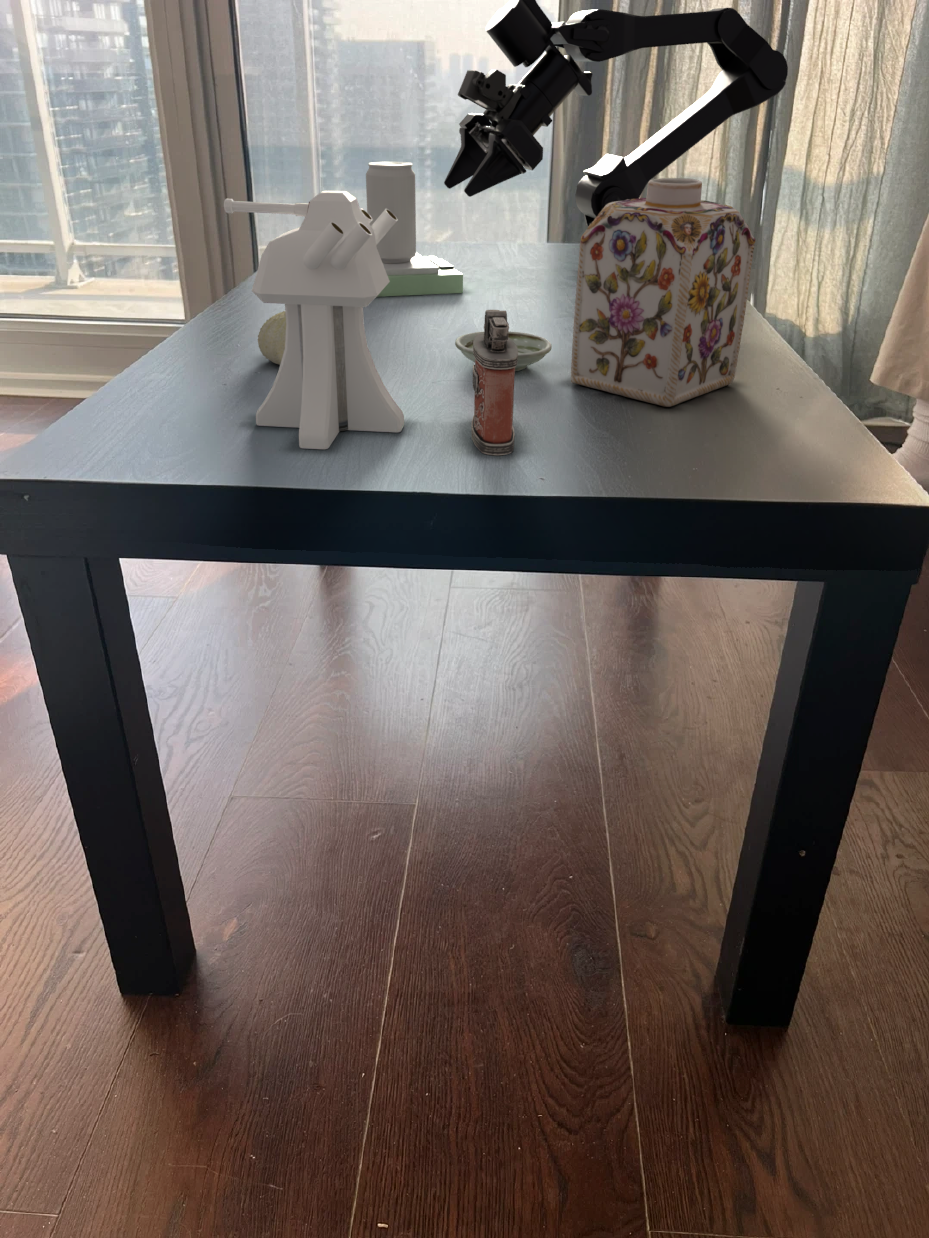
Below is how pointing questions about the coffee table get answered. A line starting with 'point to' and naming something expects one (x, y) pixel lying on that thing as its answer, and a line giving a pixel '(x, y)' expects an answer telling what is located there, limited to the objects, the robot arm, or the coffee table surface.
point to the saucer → (527, 344)
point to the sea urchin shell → (273, 338)
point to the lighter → (494, 386)
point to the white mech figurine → (325, 318)
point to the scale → (422, 277)
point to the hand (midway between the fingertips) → (456, 190)
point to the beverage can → (393, 208)
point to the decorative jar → (661, 295)
